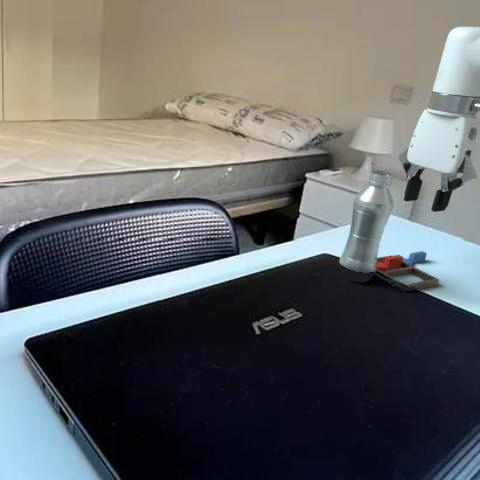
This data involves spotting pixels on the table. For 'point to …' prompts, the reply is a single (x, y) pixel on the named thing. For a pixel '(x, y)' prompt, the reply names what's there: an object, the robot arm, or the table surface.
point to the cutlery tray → (409, 269)
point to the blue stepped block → (415, 257)
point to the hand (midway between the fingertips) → (424, 204)
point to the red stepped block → (390, 263)
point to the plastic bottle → (368, 223)
